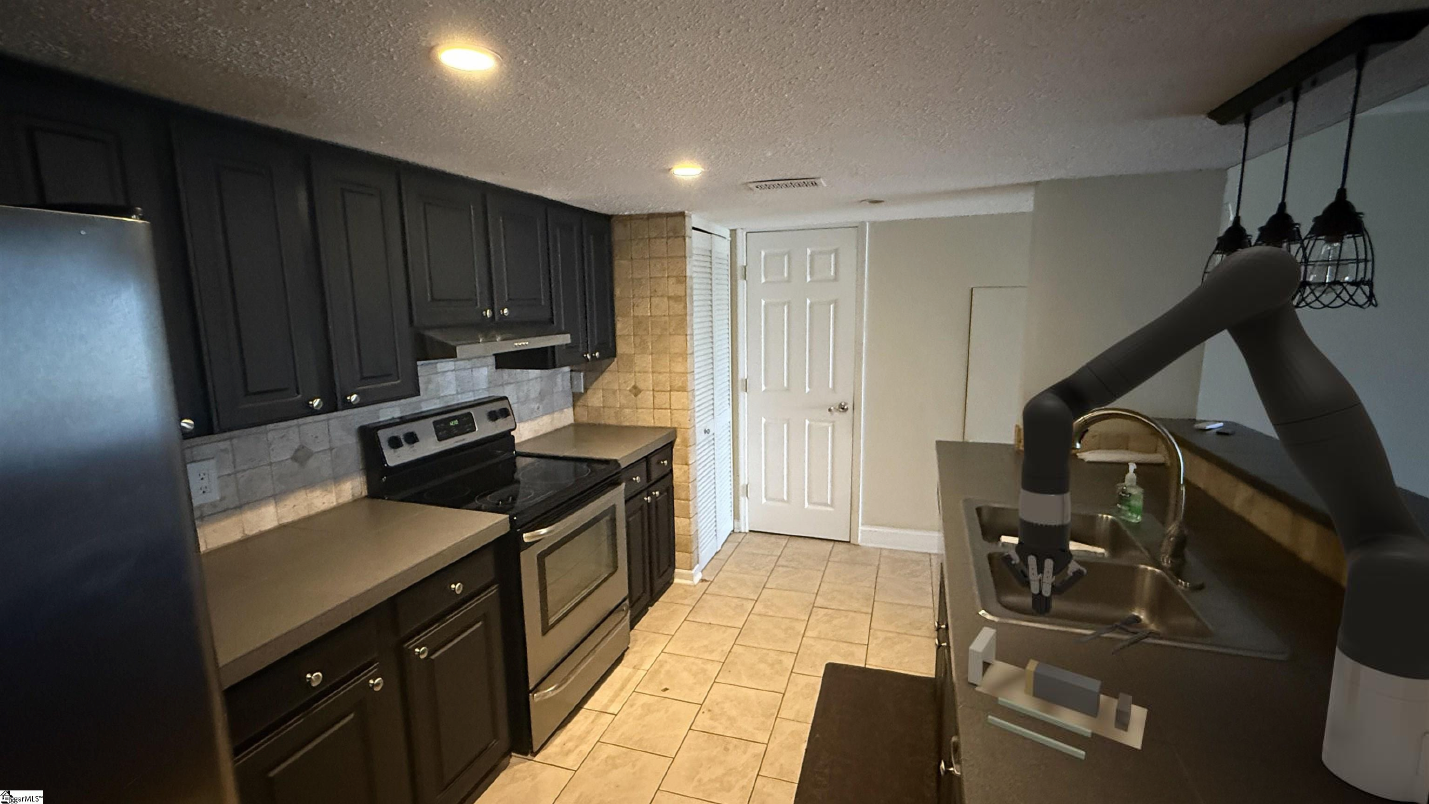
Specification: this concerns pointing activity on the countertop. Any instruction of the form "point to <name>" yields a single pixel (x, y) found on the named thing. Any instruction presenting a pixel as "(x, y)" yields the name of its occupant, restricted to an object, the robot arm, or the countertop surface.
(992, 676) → the flat beige board
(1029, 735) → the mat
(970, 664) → the strap
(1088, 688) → the long gray brick
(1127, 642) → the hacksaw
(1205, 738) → the countertop surface
